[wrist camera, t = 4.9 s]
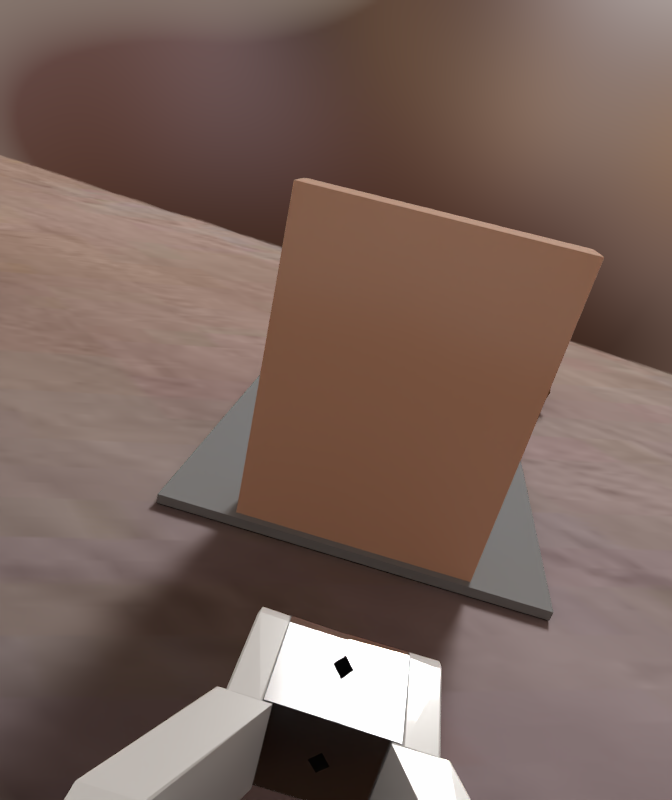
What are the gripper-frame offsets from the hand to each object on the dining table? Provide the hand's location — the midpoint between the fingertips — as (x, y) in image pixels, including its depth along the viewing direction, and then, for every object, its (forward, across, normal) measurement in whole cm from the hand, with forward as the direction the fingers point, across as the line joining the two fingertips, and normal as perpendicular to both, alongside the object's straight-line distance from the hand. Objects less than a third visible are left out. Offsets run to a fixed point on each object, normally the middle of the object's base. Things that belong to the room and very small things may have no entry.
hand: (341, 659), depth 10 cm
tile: (+11, 0, -6) cm, 13 cm away
